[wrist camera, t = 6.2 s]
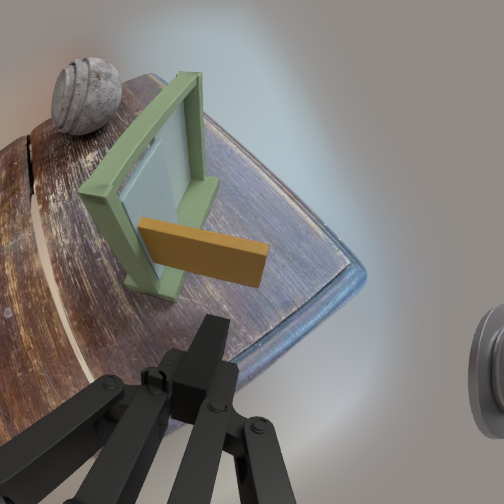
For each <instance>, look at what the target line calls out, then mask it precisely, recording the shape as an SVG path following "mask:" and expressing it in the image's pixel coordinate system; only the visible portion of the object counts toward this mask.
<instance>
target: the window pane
mask: <svg viewBox="0 0 504 504" xmlns="http://www.w3.org/2000/svg"><path fill="white" fill-rule="evenodd" d="M118 198H119V200H120V202H121V205H122V207H123V209H124V211H125V214H126V216H127V218H128V220H129V222H130V224H131V227H132V229H133V231H134V233H135V235H136V237H137V239H138V241H139V243H140V245H141V247H142V249H143V251H144V254H145V255H146V257H147V259H148V261H149V263H150V265H151V267H152V269H153V271H154V273H155V275H156V277H157V279H158V280H160V278H161V276H162V273H163V270H164V268H165V266H168V267H172V268H176V269H180V270H184V271H188V272H192V273H196V274H200V275H204V276H208V277H212V278H216V279H220V280H225V281H229V282H233V283H237V284H242V285H246V286H250V287H255V288H259V285H260V281H261V277H262V273H263V270H264V266H265V262H266V258H267V254H268V249H269V244H264V243H260V242H256V241H251V240H247V239H242V238H238V237H233V236H229V235H224V234H220V233H215V232H211V231H206V230H201V229H197V228H192V227H188V226H183V225H179V221H178V217H177V212H176V208H175V203H174V199H173V194H172V189H171V185H170V180H169V175H168V170H167V165H166V160H165V154H164V149H163V143H162V140H155V141H154V143H153V144H152V146H151V147H150V148H149V150H148V151H147V153H146V154H145V156H144V157H143V158H142V160H141V161H140V163H139V164H138V166H137V167H136V169H135V170H134V172H133V174H132V175H131V177H130V178H129V180H128V181H127V183H126V185H125V186H124V188H123V189H122V191H121V193H120V194H119V196H118Z"/></svg>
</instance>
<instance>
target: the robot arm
mask: <svg viewBox="0 0 504 504" xmlns="http://www.w3.org/2000/svg"><path fill="white" fill-rule="evenodd" d="M229 324H230V319H226V318H222V317H218V316H214V315H210V314H206V316H205V318H204V320H203V322H202V324H201V326H200V328H199V330H198V332H197V334H196V336H195V338H194V340H193V342H192V344H191V346H190V348H189V349H188V351H187V352H185V351H182V350H179V349H175V348H173V349H171V350H169V351H168V352H166V354H165V356H164V357H163V359H162V361H161V362H160V364H159V365H158V367H148V368H146V369H144V370H143V371H141V383H142V385H126V384H124V383H123V381H122V380H121V379H120V378H119V377H117V376H115V375H104V376H101V377H100V378H98V379H97V380H95V381H94V382H93V383H91V384H90V385H88V386H87V387H86V388H84V389H83V390H81V391H80V392H79V393H77V394H76V395H74V396H73V397H71V398H70V399H69V400H67V401H66V402H64V403H63V404H62V405H60V406H59V407H57V408H56V409H54V410H53V411H52V412H50V413H49V414H47V415H46V416H45V417H43V418H42V419H40V420H39V421H37V422H36V423H34V424H33V425H32V426H30V427H29V428H27V429H26V430H24V431H23V432H21V433H20V434H19V435H17V436H16V437H14V438H13V439H11V440H10V441H8V442H7V443H5V444H4V445H3V446H1V447H0V504H38V503H39V502H40V501H41V500H42V499H44V498H45V497H46V496H47V495H48V494H50V493H51V492H52V491H53V490H54V489H55V488H57V487H58V486H59V485H60V484H61V483H62V482H63V481H65V480H66V479H67V478H68V477H69V476H70V475H71V474H73V473H74V472H75V471H76V470H77V469H78V468H79V467H81V466H82V465H83V464H84V463H85V462H86V461H87V460H88V459H89V458H91V457H92V456H93V455H94V454H95V453H96V452H97V451H98V450H99V449H100V448H102V447H103V446H104V447H103V449H102V450H101V452H100V454H99V455H98V457H97V459H96V460H95V462H94V464H93V466H92V467H91V469H90V471H89V473H88V474H87V476H86V478H85V479H84V481H83V483H82V485H81V486H80V488H79V490H78V491H77V493H76V495H75V496H74V498H72V499H68V500H66V501H65V502H64V503H63V504H135V502H136V500H137V498H138V495H139V493H140V491H141V488H142V486H143V483H144V481H145V479H146V476H147V474H148V471H149V469H150V467H151V464H152V462H153V460H154V457H155V455H156V453H157V450H158V448H159V445H160V443H161V441H162V439H163V436H164V434H165V432H166V429H167V427H168V419H169V417H170V414H171V418H172V419H175V420H178V421H181V422H185V423H188V424H192V425H194V427H193V429H192V432H191V435H190V438H189V441H188V444H187V447H186V450H185V453H184V456H183V459H182V461H181V465H180V467H179V470H178V473H177V476H176V479H175V482H174V485H173V488H172V490H171V493H170V496H169V499H168V502H167V504H210V501H211V497H212V493H213V488H214V484H215V480H216V475H217V471H218V466H219V462H220V458H221V453H222V450H223V451H225V452H227V453H229V454H231V455H233V456H234V463H235V469H236V476H237V483H238V489H239V495H240V501H241V504H296V501H295V498H294V494H293V491H292V488H291V484H290V481H289V478H288V474H287V471H286V467H285V464H284V461H283V457H282V453H281V450H280V446H279V443H278V439H277V436H276V432H275V429H274V426H273V424H272V423H271V422H270V421H269V420H268V419H265V418H263V417H258V416H257V417H251V418H249V419H247V418H245V417H243V416H241V415H239V414H238V413H237V412H236V411H235V410H234V408H233V405H232V401H233V397H234V392H235V387H236V383H237V378H238V373H239V369H238V367H237V364H235V363H230V362H226V361H222V357H223V354H224V349H225V344H226V339H227V334H228V329H229ZM492 386H493V392H494V396H495V400H496V402H497V405H498V407H499V408H500V410H501V411H502V412H503V413H504V328H503V329H502V330H501V332H500V334H499V335H498V338H497V340H496V343H495V347H494V351H493V358H492Z"/></svg>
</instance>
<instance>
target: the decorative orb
mask: <svg viewBox="0 0 504 504" xmlns="http://www.w3.org/2000/svg"><path fill="white" fill-rule="evenodd" d="M121 96H122V83H121V79H120V76H119V74H118V72H117V71H116V69H115V68H114V67H113V66H112V65H110V63H108V62H106V61H104V60H102V59H98V58H85V59H83V60H82V61H81V60H80V59H77V60H74V61H72V62H71V63H70V64H69V65H68V66H67V67H66V68H65V69H63V70H62V71H61V73H60V75H59V77H58V79H57V82H56V85H55V89H54V93H53V98H52V105H51V118H52V122H53V123H55V125H56V126H57V128H58V130H59V131H60V132H62V133H67V132H68V133H69V134H71V135H84V134H88V133H91V132H94V131H96V130H98V129H99V128H101V127H102V126H104V125H105V124H106V123H107V122H108V121H109V120H110V119H111V118H112V117H113V115H114V114H115V112H116V110H117V109H118V106H119V104H120V101H121Z"/></svg>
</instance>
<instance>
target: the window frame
mask: <svg viewBox="0 0 504 504" xmlns="http://www.w3.org/2000/svg"><path fill="white" fill-rule="evenodd" d="M155 140H162V143H163V149H164V154H165V160H166V165H167V170H168V175H169V180H170V185H171V189H172V194H173V199H174V203H175V208H176V212H177V217H178V221H179V225H183V226H188V227H192V228H197V229H201V230H202V229H203V226H204V224H205V221H206V219H207V216H208V213H209V211H210V208H211V206H212V203H213V200H214V198H215V195H216V193H217V190H218V188H219V178H217V177H212V176H206V163H205V144H204V121H203V92H202V72H201V73H200V72H182V71H180V72H179V73H178V74H177V75H176V78H175V79H174V80H172V81H171V82H170V83H169V84H168V85H167V86H166V87H165V88H164V89H163V90H162V91H161V92H160V93H159V94H158V95H157V96H156V97H155V98H154V99H153V101H152V102H151V103H150V104H149V105H148V106H147V107H146V108H145V109H144V110H143V111H142V112H141V113H140V115H139V116H138V117H137V118H136V119H135V120H134V121H133V122H132V124H131V125H130V126H129V127H128V128H127V129H126V131H125V132H124V133H123V134H122V135H121V137H120V138H119V139H118V140H117V142H116V143H115V144H114V145H113V147H112V148H111V149H110V151H109V152H108V153H107V154H106V156H105V157H104V158H103V160H102V161H101V162H100V164H99V165H98V166H97V168H96V169H95V171H94V172H93V173H92V175H91V176H90V178H89V179H88V181H84V183H83V184H82V186H81V187H80V189H79V190H78V192H77V193H78V194H79V196H80V198H81V200H82V202H83V203H84V205H85V207H86V209H87V210H88V212H89V214H90V215H91V217H92V219H93V220H94V222H95V224H96V225H97V227H98V229H99V230H100V232H101V234H102V235H103V237H104V238H105V240H106V241H107V243H108V245H109V246H110V248H111V249H112V251H113V252H114V254H115V255H116V257H117V258H118V260H119V261H120V263H121V264H122V266H123V267H124V269H125V270H126V271H127V273H128V274H127V276H126V279H125V281H124V284H125V286H126V287H127V288H128V289H131V290H134V291H138V292H141V293H144V294H147V295H151V296H154V297H158V298H161V299H164V300H168V301H171V302H175V303H177V300H178V297H179V294H180V291H181V288H182V285H183V282H184V279H185V276H186V274H187V271H184V270H180V269H176V268H172V267H168V266H165V268H164V270H163V273H162V276H161V278H160V280H158V279H157V277H156V275H155V273H154V271H153V269H152V267H151V265H150V263H149V261H148V259H147V257H146V255H145V254H144V251H143V249H142V247H141V245H140V243H139V241H138V239H137V237H136V235H135V233H134V231H133V229H132V227H131V224H130V222H129V220H128V218H127V216H126V214H125V211H124V209H123V207H122V205H121V202H120V200H119V198H118V195H117V193H116V192H117V191H118V189H119V187H120V186H121V184H122V183H123V181H124V179H125V178H126V176H127V175H128V173H129V172H130V170H131V169H132V167H133V166H134V164H135V163H136V161H137V160H138V158H139V157H140V156H141V154H142V153H143V151H144V150H145V148H146V147H147V146H148V144H149V143H150V146H152V144H153V143H154V141H155Z"/></svg>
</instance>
